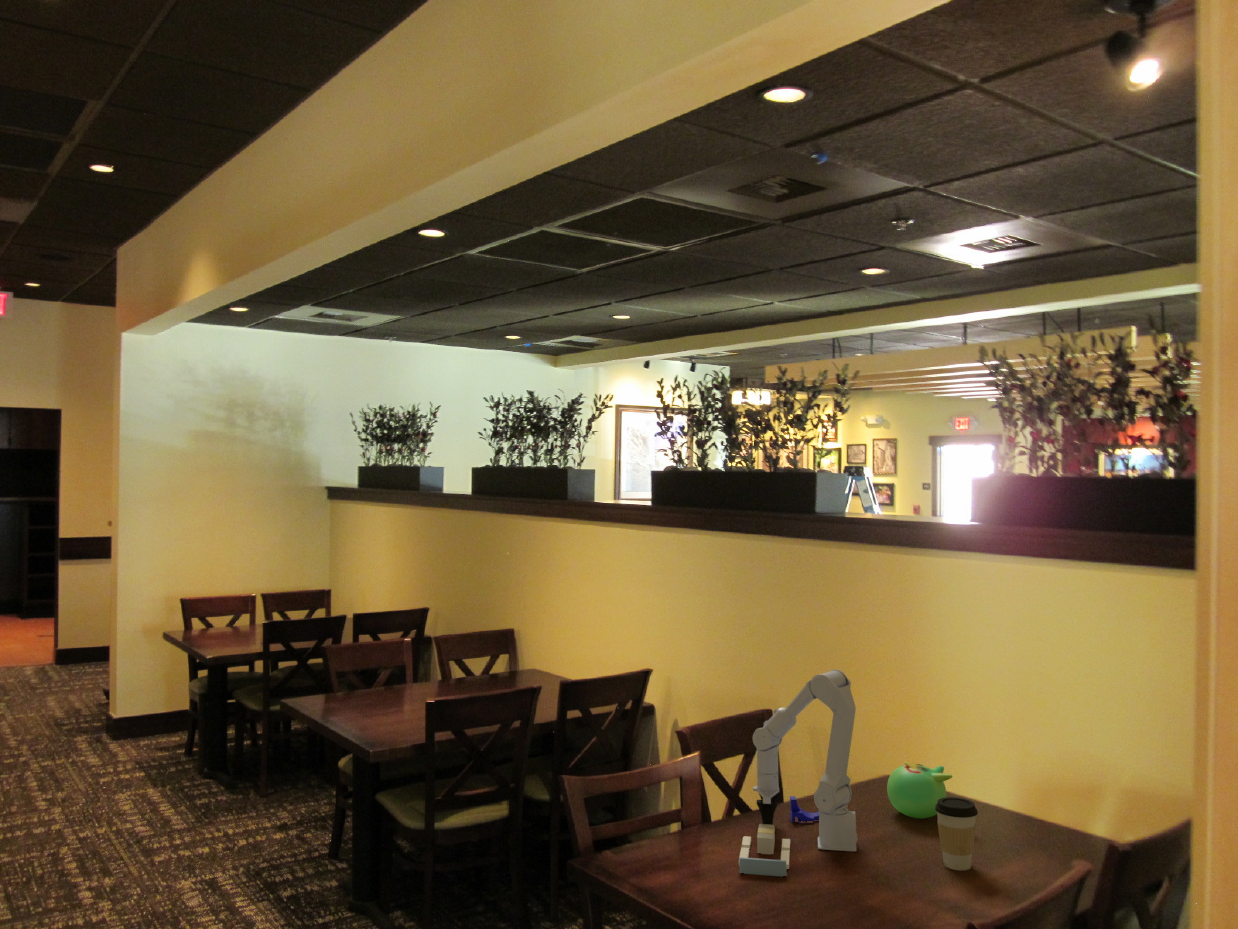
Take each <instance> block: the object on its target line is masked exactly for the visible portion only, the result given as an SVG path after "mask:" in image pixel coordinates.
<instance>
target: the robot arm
mask: <svg viewBox="0 0 1238 929" xmlns="http://www.w3.org/2000/svg"><path fill="white" fill-rule="evenodd" d="M851 685H852V682H851V680H850V679H849V678H848V676H847V675H846V674H845V673H844V672H843V671H841V670H839V669H831V670H830V671H827V672H824V673H819V674H816V675H814V676H813V677H812V678H811V679H810V680H808V682H806V683H805V685H804V686H803V687H802V688H801V690H800V691H799V692H798V694H796V695H795V697H794V698H793V699H792V700H791V702H790V703H789V704H788V705H787V707H785V706H783V707H779V708H775V709H774V710H773V712H772V713H773V714H772V716H771V717H770V718H769V719H768V720H765V721H763V726H762V727H758V728H756V729H755V731H754V732H753V734H752V743H753V745H754V747H755V748H756V785H754V786H753V787H752V791H754V792H757V793H758V795H759V797H760V799H756V805H757V807H758V809H759V812H760V816H761V821H762V824H767V825H774V824H773V822H774V816H775V812H776V809H777V808H778V804H779V802H778V801H777V798H778V796H779V794H780V787H779V749H780V748H779V747H780V745H781V743H782V742H783V737H785V735H786V734H787V733H788V732H790V731H791V729H792V728H793V727H794V726H795V725H796V724H797V716H798V715H799V714H800V713H801V712H802V711H803V710H804V709H805V708H806V707H807V706H809V705H810V704H811V703H812V702H813V701H814V700H816V699H818V700H819V701H820V702H821V703H823V705H826V706H827V707H828V708H829V709H830V710H831V711H832V713H833V714H832V720H831V729H830V734H829V742H828V750H827V756H826V762H825V763H826V764H825V771H824V773H823V775H822V777H821V778H820V779H819V782H818V787H817V789H816V790H815V791H814V794H813V800H814V801H813V802H814V804H815V807H816V808H817V809H818V812H819V822H818V832H819V835H818V836H817V849H818V850H825V851H840V852H841V851H843V852H857V842H858V834H857V820H856V819H857V818H856V811H854V810H849V808H848V804H849V803H850V802H851V800H852V798H853V797H852V796H853V792H852V789H851V778H850V777H849V776H848V774H847V773H848V766H849V759H850V753H851V752H850V751H851V744H852V738H853V731H854V726H855V725H854V724H855V718H856V710H857V709H856V707H857V706H856V704H855V701H854V700H855V699H854V696H853V693H852V689H851Z"/></svg>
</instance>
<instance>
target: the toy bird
mask: <svg viewBox="0 0 1238 929" xmlns="http://www.w3.org/2000/svg"><path fill="white" fill-rule="evenodd" d="M903 763H904V764H903V765H900V766H899V767H896V768H895V769H894V770H893V771H892V772H891V774H890V775H889V777H888V780H887V786H886V792H887V796H888V800H889V802H890V804H891V805H892V806H893V807H894V809H896V810H897V811H898V812H900V813H901V814H903V815H904V816H906V817H910V818H914V819H928V818H932V817H934V816H936V815H937V811H936V810H935V806H936V804H937V802H938V800H939V799H941V798H945V797H947V789H946V785H945V782H946V781H948V780H950V779H952V778H953V774H950V773H944V771H945V767H944V765H938V766H936V767H934V768H930V767H927V766H925V765H923V764H920V763H912V762H909V761H906V760H904V761H903Z"/></svg>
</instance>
